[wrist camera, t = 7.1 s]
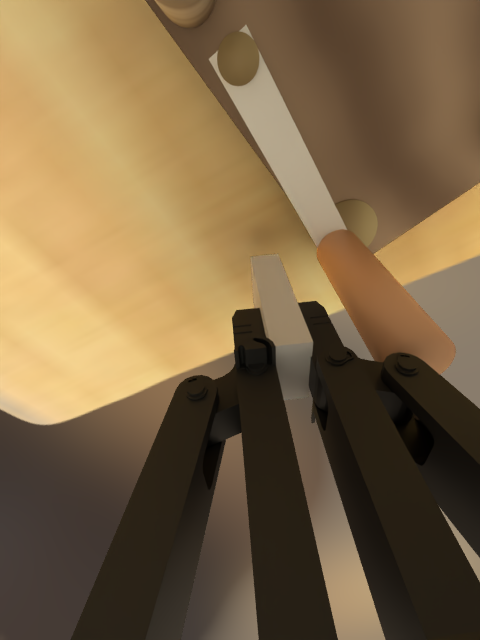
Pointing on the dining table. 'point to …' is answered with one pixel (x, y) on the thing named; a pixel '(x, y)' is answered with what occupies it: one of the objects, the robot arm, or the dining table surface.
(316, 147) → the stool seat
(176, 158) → the dining table surface
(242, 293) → the dining table surface
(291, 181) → the crank handle
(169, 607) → the robot arm
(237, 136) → the dining table surface
